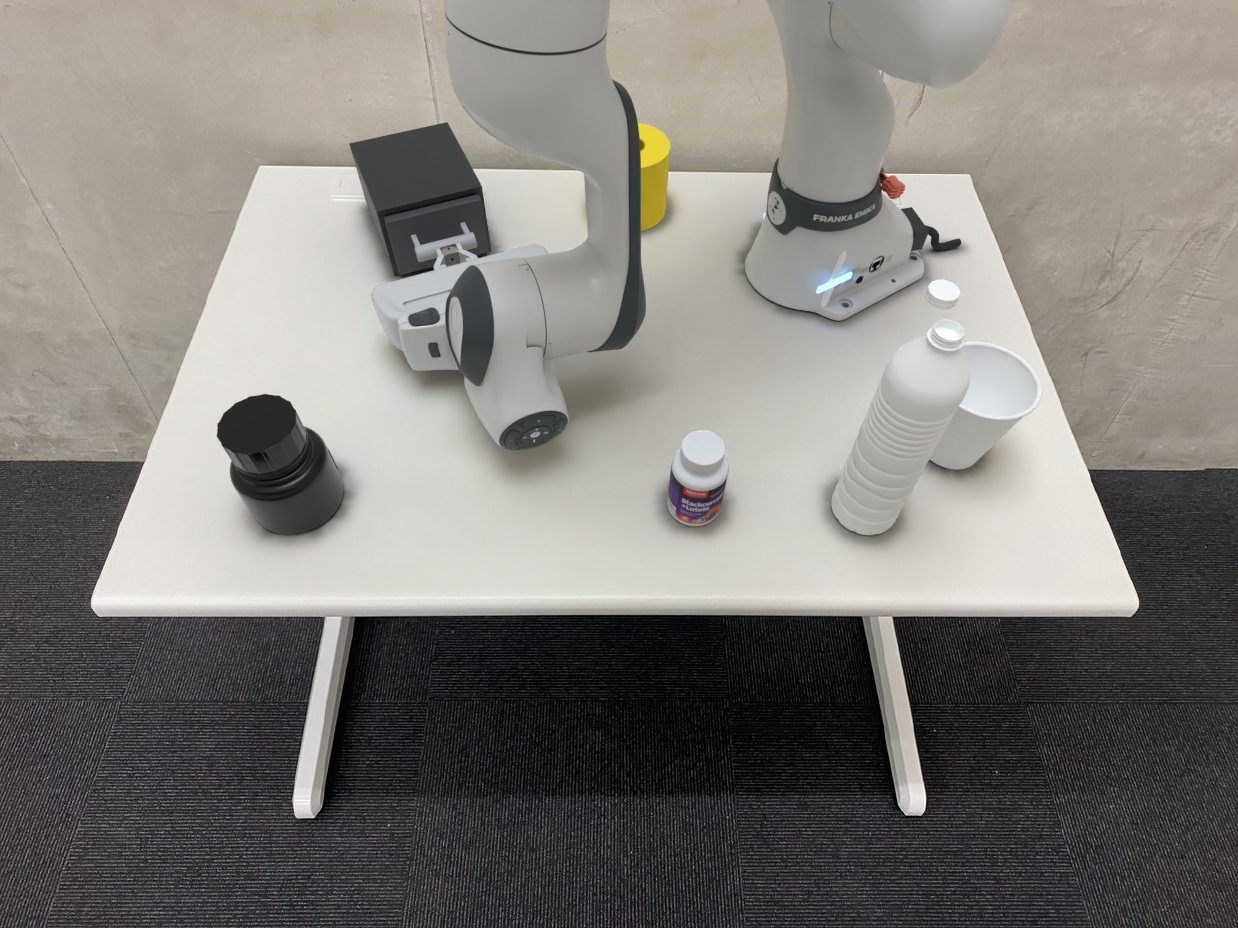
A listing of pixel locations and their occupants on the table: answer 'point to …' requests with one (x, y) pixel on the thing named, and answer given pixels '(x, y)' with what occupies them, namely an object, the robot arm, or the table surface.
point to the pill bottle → (698, 478)
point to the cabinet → (413, 174)
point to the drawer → (436, 231)
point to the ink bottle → (279, 465)
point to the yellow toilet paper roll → (653, 175)
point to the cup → (987, 404)
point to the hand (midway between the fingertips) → (447, 250)
